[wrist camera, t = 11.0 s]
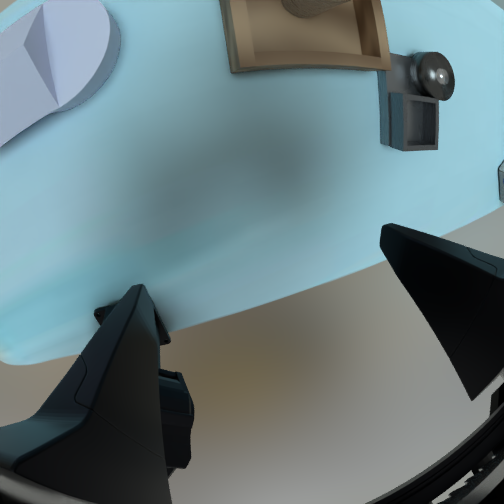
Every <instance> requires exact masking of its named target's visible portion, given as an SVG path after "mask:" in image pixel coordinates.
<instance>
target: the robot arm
mask: <svg viewBox="0 0 504 504" xmlns="http://www.w3.org/2000/svg"><path fill="white" fill-rule="evenodd" d="M380 248H381V250H382V252H383V253H384V255H385V257H386V258H387V260H388V262H389V263H390V265H391V267H392V268H393V270H394V272H395V274H396V275H397V277H398V278H399V280H400V281H401V283H402V284H403V286H404V287H405V288H406V290H407V291H408V293H409V294H410V296H411V297H412V299H413V300H414V302H415V303H416V305H417V306H418V308H419V309H420V311H421V312H422V314H423V315H424V317H425V319H426V320H427V322H428V323H429V325H430V327H431V328H432V330H433V331H434V333H435V335H436V336H437V338H438V340H439V341H440V343H441V345H442V347H443V348H444V350H445V352H446V353H447V355H448V357H449V358H450V361H451V363H452V365H453V366H454V368H455V370H456V372H457V374H458V376H459V378H460V379H461V382H462V384H463V385H464V387H465V389H466V392H467V393H468V396H469V398H470V399H471V401H473V400H474V399H475V398H476V397H477V396H478V395H480V394H481V393H482V392H483V391H484V390H485V389H486V388H487V387H488V386H489V385H490V384H491V383H492V382H493V381H494V380H495V379H496V378H497V377H498V376H499V375H501V377H502V378H503V379H504V259H502V258H499V257H496V256H493V255H489V254H487V253H484V252H481V251H478V250H475V249H472V248H469V247H465V246H463V245H460V244H458V243H455V242H451V241H449V240H445V239H442V238H439V237H436V236H433V235H430V234H427V233H424V232H420V231H417V230H414V229H411V228H407V227H404V226H400V225H397V224H393V223H389V224H385V225H383V226H382V229H381V236H380ZM97 313H98V314H97ZM94 316H95V318H96V320H97V321H98V323H99V324H100V328H99V329H98V330H97V332H96V333H95V334H94V336H93V337H92V339H91V340H90V341H89V343H88V344H87V346H86V347H85V348H84V350H83V351H82V353H81V355H79V357H78V358H77V360H76V361H75V363H74V364H73V365H72V367H71V368H70V370H69V371H68V372H67V374H66V375H65V376H64V378H63V379H62V380H61V382H60V383H59V384H58V385H57V387H56V388H55V389H54V391H53V392H52V393H51V395H50V396H49V397H48V398H47V400H46V401H45V402H44V403H43V405H42V406H41V407H40V409H39V410H38V411H37V412H36V413H35V414H34V415H33V416H31V417H30V418H28V419H26V420H24V421H21V422H18V423H14V424H10V425H7V426H3V427H0V504H172V500H171V495H170V489H169V484H168V478H169V477H170V476H171V475H172V473H173V472H174V471H175V469H176V468H180V469H185V468H186V467H187V465H188V463H189V461H190V459H191V445H190V434H191V428H192V425H193V421H194V404H193V401H192V398H191V396H190V394H189V391H188V389H187V386H186V384H185V381H184V379H183V376H182V373H180V372H171V371H167V370H163V369H160V345H165V344H169V343H170V342H171V339H170V336H169V334H168V332H167V330H166V328H165V326H164V324H163V322H162V320H161V318H160V316H159V314H158V312H157V310H156V308H155V306H154V304H153V302H152V300H151V298H150V296H149V294H148V292H147V289H146V287H145V286H144V284H138V285H134V286H132V287H131V288H130V289H129V290H128V291H127V293H126V294H125V295H124V296H123V298H122V299H121V300H120V302H119V303H118V304H116V305H112V306H107V307H104V308H99V309H96V310H95V311H94ZM470 470H472V472H473V474H474V476H472V477H470V478H468V479H467V480H466V481H465V482H464V483H465V485H464V486H463V487H461V488H459V489H457V490H455V491H453V492H451V493H450V494H449V498H447V499H445V500H444V501H442V502H440V503H438V504H504V383H503V384H502V385H501V386H500V387H499V388H498V389H497V390H496V391H495V392H494V393H493V394H492V395H491V407H490V416H489V418H488V419H487V420H486V421H485V422H484V423H483V424H482V425H481V426H480V427H479V428H477V429H476V430H475V431H474V432H473V433H472V434H471V435H470V436H468V437H467V438H466V439H465V440H464V441H463V442H461V443H460V444H459V445H458V446H457V447H455V448H454V449H453V450H452V451H450V452H449V453H448V454H446V455H445V456H444V457H442V458H441V459H440V460H438V461H437V462H436V463H434V464H433V465H431V466H430V467H428V468H427V469H426V470H424V471H423V472H421V473H419V474H418V475H416V476H415V477H413V478H412V479H410V480H408V481H407V482H405V483H403V484H402V485H400V486H398V487H396V488H395V489H393V490H391V491H389V492H388V493H386V494H383V495H382V496H380V497H378V498H376V499H374V500H372V501H370V502H367V503H365V504H433V503H432V500H434V499H435V498H436V497H438V496H439V495H441V494H442V493H443V492H445V491H446V490H447V489H449V488H450V487H451V486H453V485H454V484H455V483H456V482H458V481H459V480H460V479H461V478H462V477H464V476H465V475H466V474H467V473H468V472H469V471H470Z"/></svg>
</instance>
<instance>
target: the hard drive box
mask: <svg viewBox="0 0 504 504" xmlns="http://www.w3.org/2000/svg"><path fill="white" fill-rule="evenodd" d="M499 179H500V201H502V202H504V162H503V163H502V165H501V166H500V168H499Z"/></svg>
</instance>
